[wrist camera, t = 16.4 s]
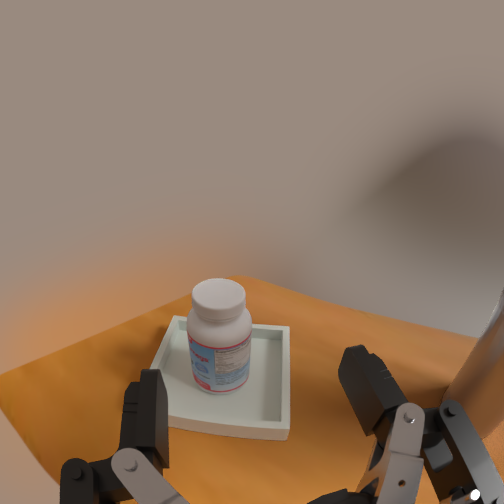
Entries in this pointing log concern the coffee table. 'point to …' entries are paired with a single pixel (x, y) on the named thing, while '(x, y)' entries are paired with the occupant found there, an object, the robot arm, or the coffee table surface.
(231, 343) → the pill bottle
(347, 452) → the coffee table surface
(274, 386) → the tray
